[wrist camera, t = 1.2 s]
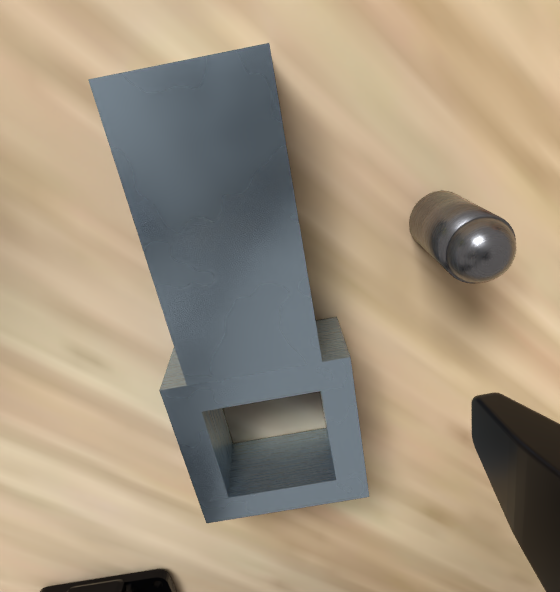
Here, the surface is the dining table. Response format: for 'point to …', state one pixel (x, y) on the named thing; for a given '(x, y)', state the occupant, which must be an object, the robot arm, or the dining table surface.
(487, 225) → the cylinder
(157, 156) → the link
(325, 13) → the dining table surface
